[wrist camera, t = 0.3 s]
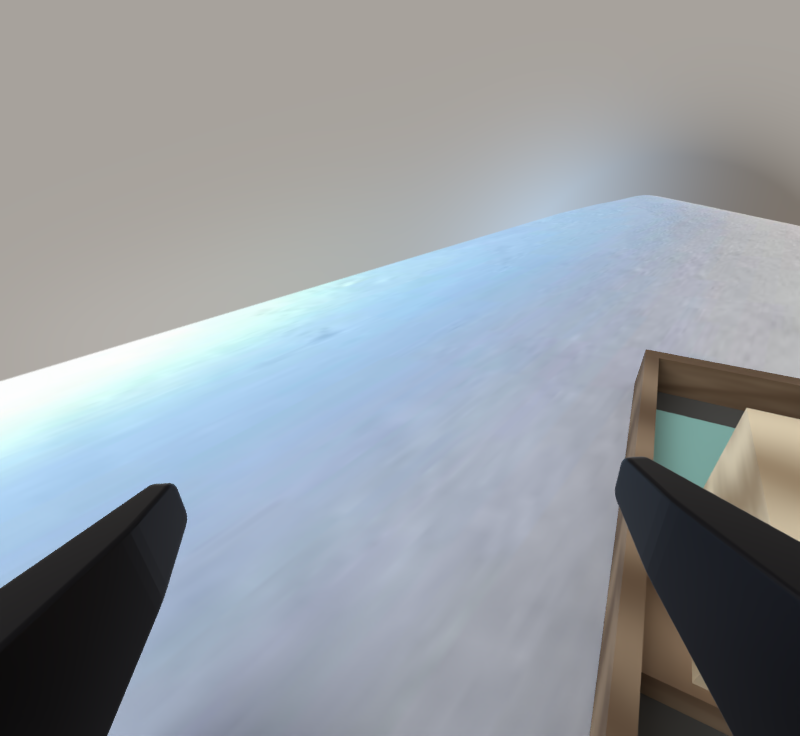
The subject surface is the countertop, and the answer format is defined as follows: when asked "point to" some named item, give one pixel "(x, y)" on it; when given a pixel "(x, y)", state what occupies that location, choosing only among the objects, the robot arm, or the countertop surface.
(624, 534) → the box
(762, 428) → the maple block
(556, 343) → the countertop surface
